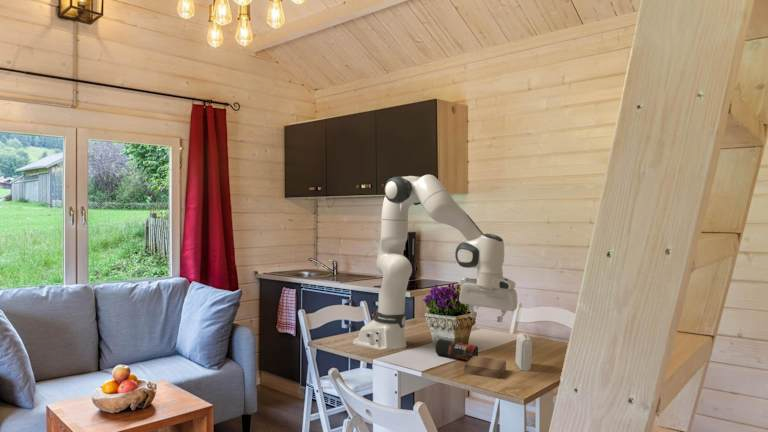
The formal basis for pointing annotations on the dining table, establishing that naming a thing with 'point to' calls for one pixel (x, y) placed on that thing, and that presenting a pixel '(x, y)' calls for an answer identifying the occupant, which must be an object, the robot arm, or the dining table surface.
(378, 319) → the robot arm
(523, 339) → the photo printer
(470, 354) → the deodorant
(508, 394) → the dining table surface
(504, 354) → the dining table surface
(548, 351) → the dining table surface
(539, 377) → the dining table surface
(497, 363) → the walnut block
